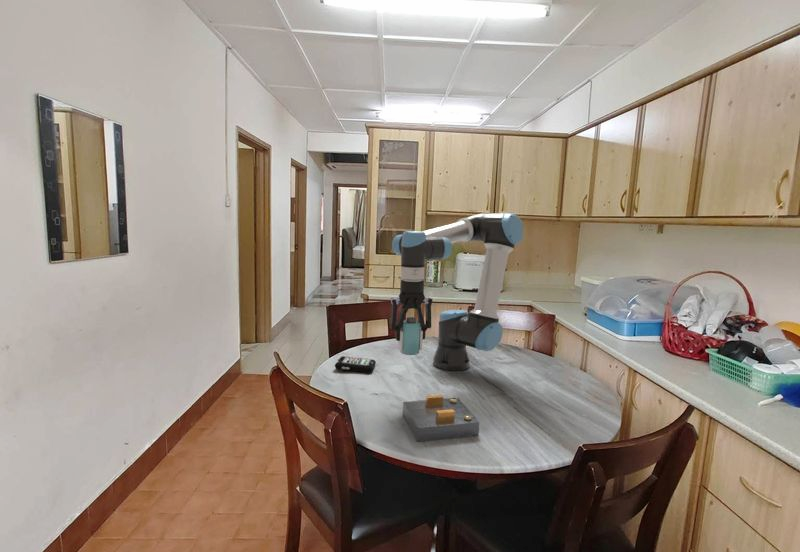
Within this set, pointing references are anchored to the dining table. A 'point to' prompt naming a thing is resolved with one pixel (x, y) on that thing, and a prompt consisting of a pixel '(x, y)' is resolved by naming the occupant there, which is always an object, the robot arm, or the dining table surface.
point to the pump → (411, 336)
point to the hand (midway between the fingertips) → (410, 349)
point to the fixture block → (439, 419)
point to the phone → (355, 364)
